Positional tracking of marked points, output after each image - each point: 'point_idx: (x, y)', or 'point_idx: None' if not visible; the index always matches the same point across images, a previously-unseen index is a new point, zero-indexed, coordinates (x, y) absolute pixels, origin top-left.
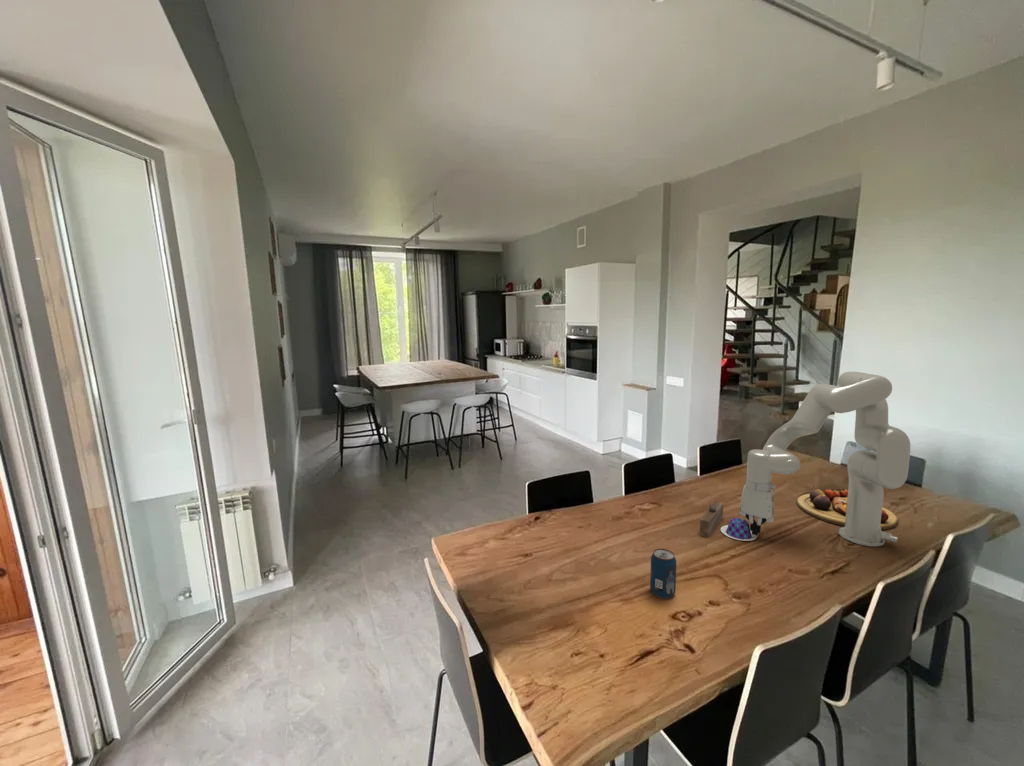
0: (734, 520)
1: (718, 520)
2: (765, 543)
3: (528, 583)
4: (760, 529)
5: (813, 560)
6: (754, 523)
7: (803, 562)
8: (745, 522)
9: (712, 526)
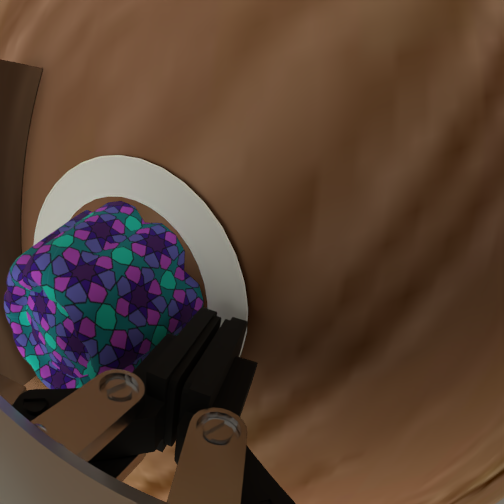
0: (24, 304)
1: (4, 186)
2: (302, 393)
3: None
4: (253, 374)
5: (487, 448)
6: (161, 437)
7: (434, 479)
8: (88, 349)
9: (4, 329)
